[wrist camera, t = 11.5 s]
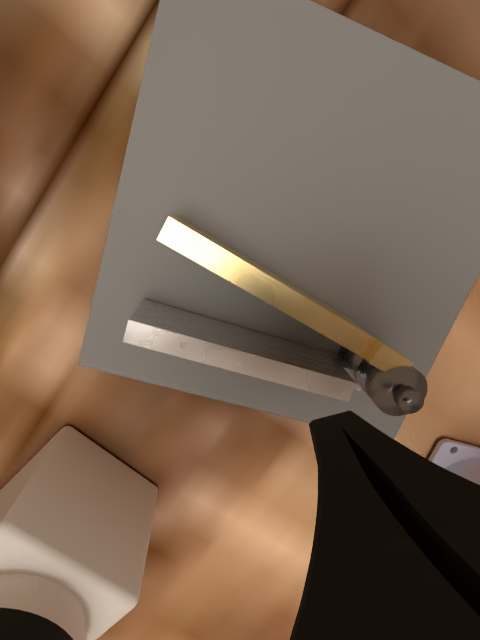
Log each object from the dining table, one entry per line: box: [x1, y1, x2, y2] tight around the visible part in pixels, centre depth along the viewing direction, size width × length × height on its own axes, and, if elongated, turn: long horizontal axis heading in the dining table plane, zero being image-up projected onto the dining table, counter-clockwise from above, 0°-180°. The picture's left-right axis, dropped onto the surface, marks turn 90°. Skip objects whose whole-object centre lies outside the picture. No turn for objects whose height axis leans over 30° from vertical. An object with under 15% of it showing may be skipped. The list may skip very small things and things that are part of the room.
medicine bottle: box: [0, 426, 158, 640], centre depth 16 cm, size 7×7×12 cm
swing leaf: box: [157, 215, 427, 416], centre depth 16 cm, size 3×13×4 cm, turn 59°
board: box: [78, 0, 480, 439], centre depth 18 cm, size 19×19×1 cm
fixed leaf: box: [123, 299, 424, 414], centre depth 16 cm, size 13×3×5 cm, turn 72°
